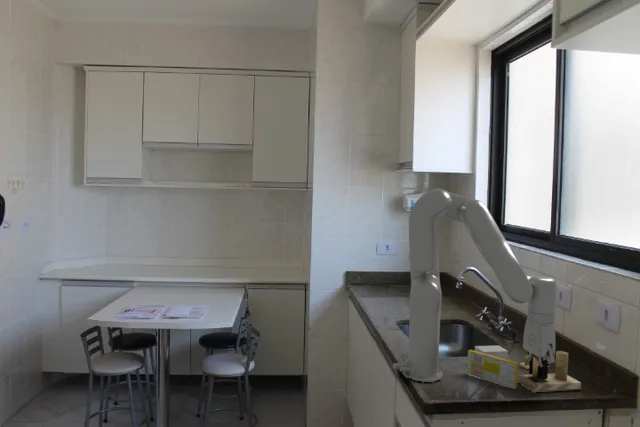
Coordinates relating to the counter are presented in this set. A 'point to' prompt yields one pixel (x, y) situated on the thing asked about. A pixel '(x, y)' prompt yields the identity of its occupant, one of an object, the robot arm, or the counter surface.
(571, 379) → the board
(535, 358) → the peg
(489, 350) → the cover
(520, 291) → the robot arm
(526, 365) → the wooden knobbed lid
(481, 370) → the candy box
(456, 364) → the counter surface
